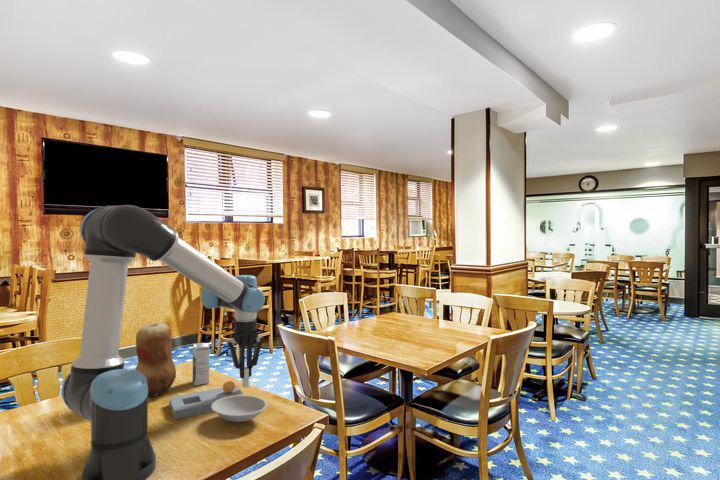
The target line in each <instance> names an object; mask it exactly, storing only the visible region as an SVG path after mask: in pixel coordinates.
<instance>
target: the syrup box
mask: <svg viewBox="0 0 720 480" xmlns="http://www.w3.org/2000/svg"><path fill="white" fill-rule="evenodd" d="M205 383H210V344H209V343H207V342H200V343H193V344H192V386H193V387H195V386H194V385H197V386H200V385H199V384H203V385H206V384H205Z"/></svg>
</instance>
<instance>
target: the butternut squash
mask: <svg viewBox="0 0 720 480" xmlns="http://www.w3.org/2000/svg"><path fill="white" fill-rule="evenodd" d="M172 344H173V340H172V330H171V327H170V326H169V325H168V324H167V323H164V322H154V323H150V324H146V325H144V326H141V328H140V329H138V330H137V332H136V337H135V351H136V355H137V365H136V366H135V369H134V370H136V371H139V372H141V373H143V374H144V375H145V377H146V379H147V386H148V396H157V395H158V394H160V393H165V392H166V391H168V390H169V389H170V388H172V385H173V383H174V382H175V379H176V378H177V377H176V376H177V370H176V367H175V366H176V365H175V363H174V360H173V348H172V346H173V345H172Z"/></svg>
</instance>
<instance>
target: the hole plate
mask: <svg viewBox="0 0 720 480" xmlns="http://www.w3.org/2000/svg"><path fill="white" fill-rule="evenodd" d="M235 395H245V394H244V393H243V391H242V390H241V389H240V388H239V386H238V385H237V384H235V389H234V391H233V392H231V393H226V392H224V390H223V386H221V387H217V388H211V389H208V390H203V391H202V390H201V391H196V392H192V393H186V394H182V395H176V396H169V399H168V402H169V404H168V406H169V408H170V410H171V411H170V412H171V413H172V416H173V419H174V420H177V419H182V418H188V417H189V416H190V417H191V416H196V415H200V413H201V414H205V413H208V412H207V411H210V412H212V411H211V410H212V409H211V405H212V403H213V402H215V401H216V400H218V399H221V398H224V397H228V396H235ZM204 412H205V413H204Z"/></svg>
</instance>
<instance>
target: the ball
mask: <svg viewBox="0 0 720 480" xmlns="http://www.w3.org/2000/svg"><path fill="white" fill-rule="evenodd" d="M235 385H236V384H235V383H234V381H233V380H227V381H225V382H224V383H223V385H222V387H223V390H224V392H226V393H231V392H233V391H234V389H235Z"/></svg>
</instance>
